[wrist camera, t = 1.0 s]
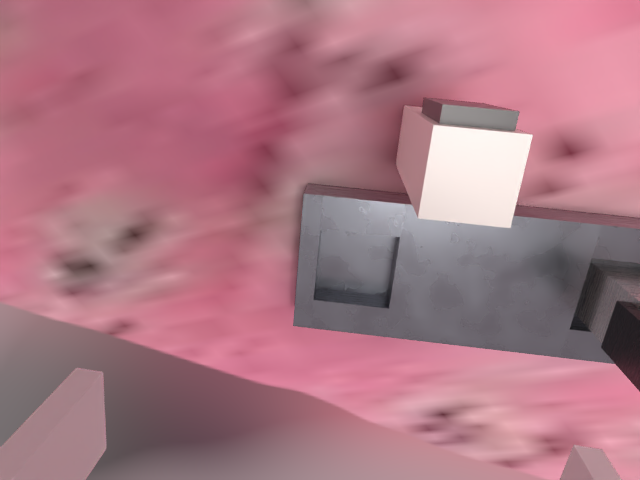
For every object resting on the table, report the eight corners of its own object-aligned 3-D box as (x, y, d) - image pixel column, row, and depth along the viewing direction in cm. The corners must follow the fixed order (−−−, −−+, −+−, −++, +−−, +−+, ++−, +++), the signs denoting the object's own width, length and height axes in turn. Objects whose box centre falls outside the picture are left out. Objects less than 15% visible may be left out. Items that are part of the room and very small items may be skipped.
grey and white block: (308, 183, 33) (275, 254, 20) (678, 222, 32) (899, 323, 19) (298, 306, 37) (264, 435, 24) (633, 345, 36) (793, 503, 23)
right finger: (452, 170, 32) (510, 228, 20) (395, 164, 32) (417, 218, 20) (466, 98, 31) (537, 114, 18) (405, 92, 31) (436, 104, 19)
